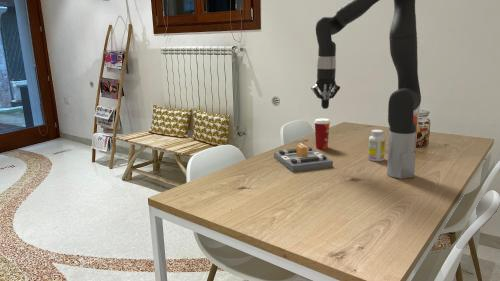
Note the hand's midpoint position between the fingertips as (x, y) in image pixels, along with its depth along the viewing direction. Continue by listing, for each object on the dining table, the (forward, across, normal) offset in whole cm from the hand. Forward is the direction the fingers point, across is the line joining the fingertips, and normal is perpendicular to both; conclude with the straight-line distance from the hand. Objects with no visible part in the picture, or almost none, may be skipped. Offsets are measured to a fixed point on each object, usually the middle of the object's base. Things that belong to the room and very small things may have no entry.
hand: (325, 108), depth 166 cm
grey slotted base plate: (+23, -10, 0) cm, 25 cm away
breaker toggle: (+20, -10, 0) cm, 23 cm away
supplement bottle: (+23, +21, -9) cm, 32 cm away
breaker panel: (+23, -10, 0) cm, 25 cm away
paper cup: (+23, +7, +17) cm, 30 cm away
